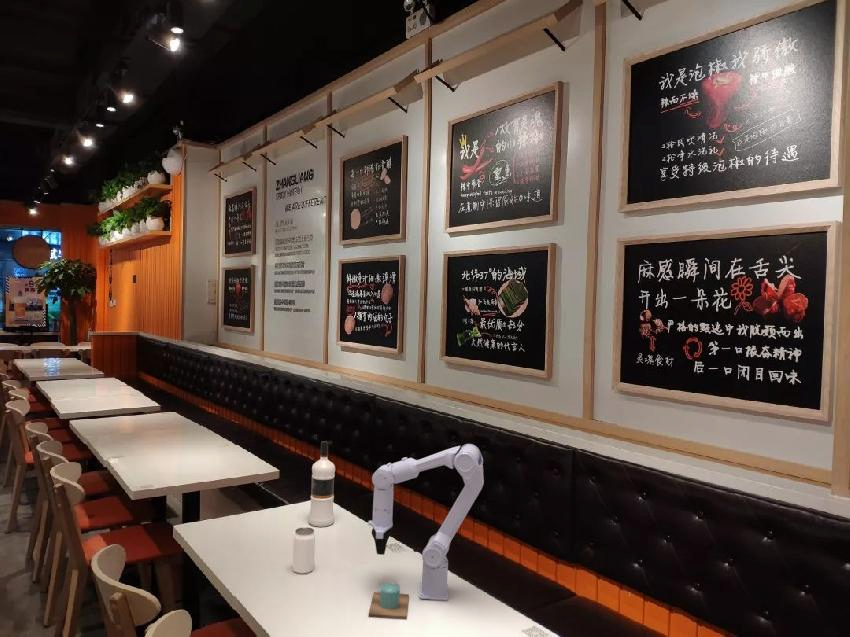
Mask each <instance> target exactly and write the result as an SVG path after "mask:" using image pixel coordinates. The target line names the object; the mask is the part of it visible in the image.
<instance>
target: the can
mask: <svg viewBox="0 0 850 637" xmlns="http://www.w3.org/2000/svg"><path fill="white" fill-rule="evenodd" d="M294 531H295V533H294V535H293V544H292V546H293V547H292V548H293V549H292V567H291V568H292V571H293V572H294V573H296V574H299V575H303V574H310V573H311V572H313V570H314V568H315V553H316V552H315V550H316V534H315V530H314V528H312V527H309V526H308V527H305V526H304V527H298V528H296V530H294Z"/></svg>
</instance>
